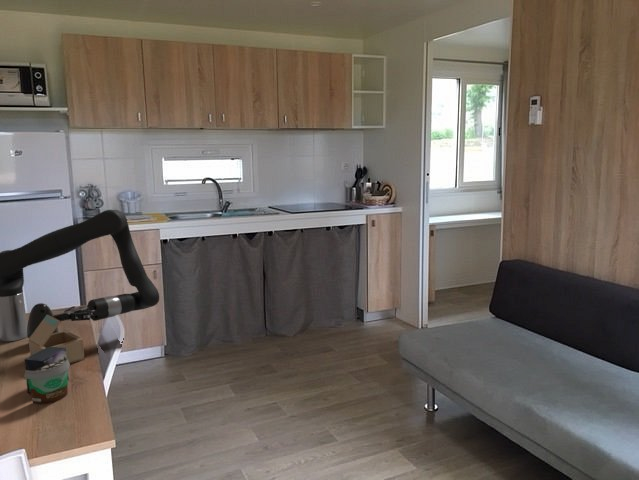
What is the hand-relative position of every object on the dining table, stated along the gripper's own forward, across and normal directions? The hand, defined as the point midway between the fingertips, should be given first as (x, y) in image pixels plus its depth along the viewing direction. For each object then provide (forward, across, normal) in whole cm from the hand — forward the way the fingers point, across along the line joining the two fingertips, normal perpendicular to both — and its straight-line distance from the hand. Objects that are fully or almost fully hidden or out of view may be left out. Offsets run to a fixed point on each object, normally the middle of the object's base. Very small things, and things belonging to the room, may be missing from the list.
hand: (54, 318), depth 176 cm
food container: (+13, +30, +15) cm, 36 cm away
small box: (+11, +20, +15) cm, 27 cm away
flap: (+7, 0, +7) cm, 10 cm away
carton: (0, 0, +14) cm, 14 cm away
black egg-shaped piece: (-3, -20, +14) cm, 25 cm away
